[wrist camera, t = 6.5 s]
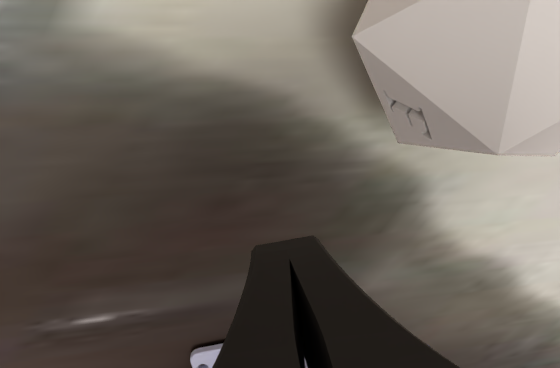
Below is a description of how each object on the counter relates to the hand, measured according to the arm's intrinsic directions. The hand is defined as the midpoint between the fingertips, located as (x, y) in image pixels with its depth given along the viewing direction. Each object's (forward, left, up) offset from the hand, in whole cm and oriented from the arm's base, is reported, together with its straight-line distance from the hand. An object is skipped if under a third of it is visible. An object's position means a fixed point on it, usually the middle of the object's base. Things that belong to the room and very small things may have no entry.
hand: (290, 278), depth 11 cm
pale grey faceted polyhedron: (+3, -8, -10) cm, 13 cm away
